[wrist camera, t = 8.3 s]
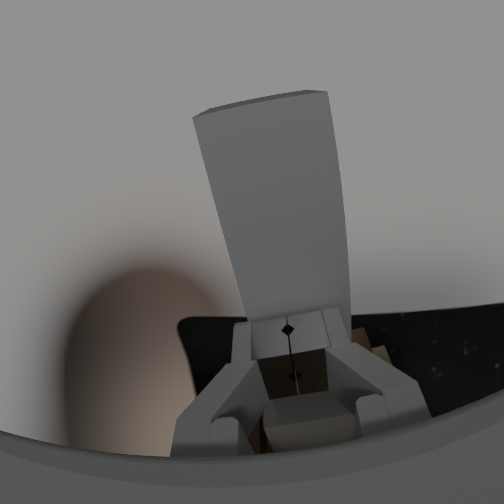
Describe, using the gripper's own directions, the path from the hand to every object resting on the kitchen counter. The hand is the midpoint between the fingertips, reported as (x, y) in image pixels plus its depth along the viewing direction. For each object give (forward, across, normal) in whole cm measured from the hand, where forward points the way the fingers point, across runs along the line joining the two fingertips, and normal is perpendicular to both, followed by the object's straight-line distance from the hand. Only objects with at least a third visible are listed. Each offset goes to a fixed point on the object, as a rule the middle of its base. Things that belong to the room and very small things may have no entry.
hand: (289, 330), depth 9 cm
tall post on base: (+2, 0, -8) cm, 9 cm away
